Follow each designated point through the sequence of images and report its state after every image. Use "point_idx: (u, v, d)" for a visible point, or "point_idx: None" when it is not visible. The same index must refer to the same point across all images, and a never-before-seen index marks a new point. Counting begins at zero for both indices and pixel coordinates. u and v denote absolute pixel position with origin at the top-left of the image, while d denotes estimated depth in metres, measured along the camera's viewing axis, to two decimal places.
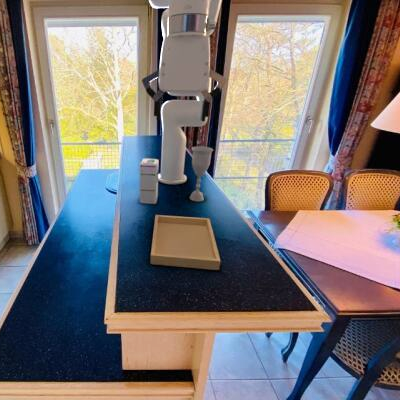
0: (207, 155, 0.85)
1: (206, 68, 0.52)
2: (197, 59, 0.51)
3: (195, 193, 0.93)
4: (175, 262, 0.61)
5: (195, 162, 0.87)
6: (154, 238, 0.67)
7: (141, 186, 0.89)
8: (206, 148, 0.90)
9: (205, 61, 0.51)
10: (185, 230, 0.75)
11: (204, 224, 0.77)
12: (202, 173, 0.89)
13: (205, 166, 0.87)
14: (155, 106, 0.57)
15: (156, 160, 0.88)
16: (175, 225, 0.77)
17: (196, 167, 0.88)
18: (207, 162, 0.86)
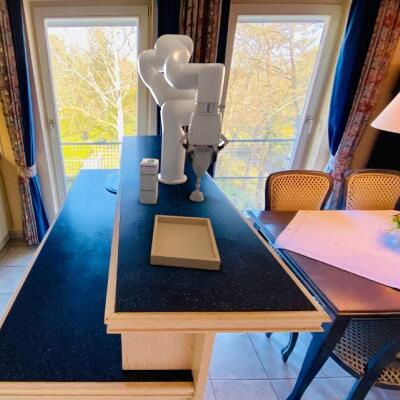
0: (207, 155, 0.85)
1: (219, 132, 0.82)
2: (213, 126, 0.82)
3: (195, 193, 0.93)
4: (175, 262, 0.61)
5: (195, 162, 0.87)
6: (154, 238, 0.67)
7: (141, 186, 0.89)
8: (206, 148, 0.90)
9: (218, 128, 0.82)
10: (185, 230, 0.75)
11: (204, 224, 0.77)
12: (202, 173, 0.89)
13: (205, 166, 0.87)
14: (188, 155, 0.88)
15: (156, 160, 0.88)
16: (175, 225, 0.77)
17: (196, 167, 0.88)
18: (207, 162, 0.86)
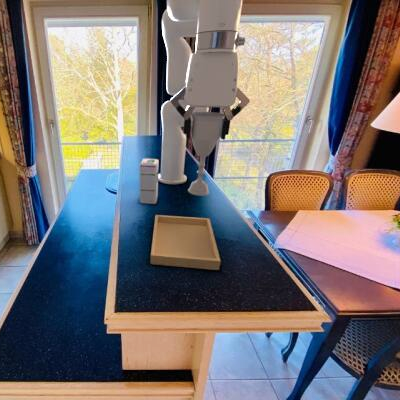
0: (215, 123, 0.55)
1: (234, 84, 0.51)
2: (225, 75, 0.51)
3: (196, 183, 0.62)
4: (175, 262, 0.61)
5: (197, 135, 0.57)
6: (154, 238, 0.67)
7: (141, 186, 0.89)
8: (213, 115, 0.59)
9: (234, 77, 0.51)
10: (185, 230, 0.75)
11: (204, 224, 0.77)
12: (207, 152, 0.58)
13: (212, 140, 0.56)
14: (185, 124, 0.57)
15: (156, 160, 0.88)
16: (175, 225, 0.77)
17: (198, 142, 0.57)
18: (215, 134, 0.56)
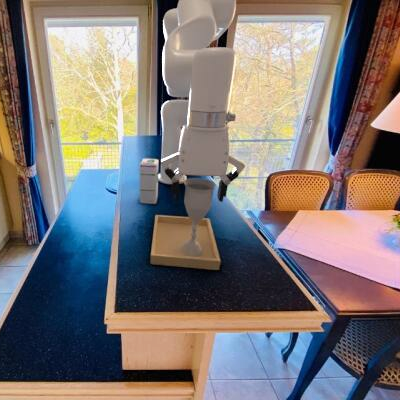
0: (207, 194, 0.56)
1: (225, 157, 0.53)
2: (216, 149, 0.52)
3: (189, 245, 0.64)
4: (175, 262, 0.61)
5: (189, 203, 0.58)
6: (154, 238, 0.67)
7: (141, 186, 0.89)
8: (206, 182, 0.60)
9: (225, 151, 0.52)
10: (185, 230, 0.75)
11: (204, 224, 0.77)
12: (199, 218, 0.60)
13: (204, 210, 0.58)
14: (173, 186, 0.58)
15: (156, 160, 0.88)
16: (175, 225, 0.77)
17: (191, 210, 0.59)
18: (207, 204, 0.57)
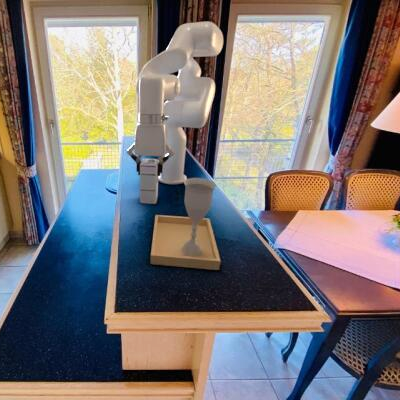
0: (207, 194, 0.56)
1: (163, 143, 0.82)
2: (157, 138, 0.82)
3: (189, 245, 0.64)
4: (175, 262, 0.61)
5: (189, 203, 0.58)
6: (154, 238, 0.67)
7: (141, 186, 0.89)
8: (206, 182, 0.60)
9: (162, 139, 0.82)
10: (185, 230, 0.75)
11: (204, 224, 0.77)
12: (199, 218, 0.60)
13: (204, 210, 0.58)
14: (137, 166, 0.88)
15: (156, 160, 0.88)
16: (175, 225, 0.77)
17: (191, 210, 0.59)
18: (207, 204, 0.57)
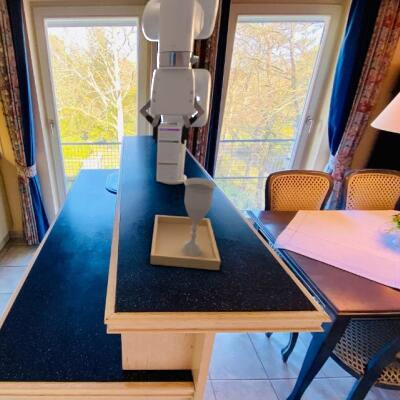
0: (207, 194, 0.56)
1: (191, 96, 0.60)
2: (183, 88, 0.59)
3: (189, 245, 0.64)
4: (175, 262, 0.61)
5: (189, 203, 0.58)
6: (154, 238, 0.67)
7: (159, 158, 0.66)
8: (206, 182, 0.60)
9: (190, 90, 0.59)
10: (185, 230, 0.75)
11: (204, 224, 0.77)
12: (199, 218, 0.60)
13: (204, 210, 0.58)
14: (154, 131, 0.65)
15: (179, 123, 0.66)
16: (175, 225, 0.77)
17: (191, 210, 0.59)
18: (207, 204, 0.57)
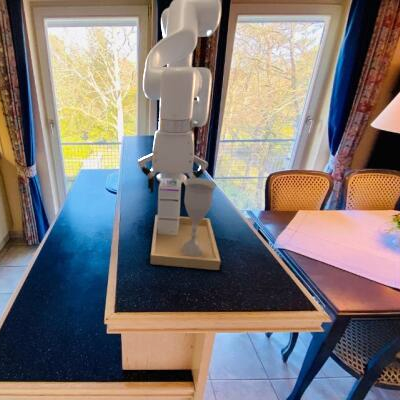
0: (207, 194, 0.56)
1: (190, 157, 0.63)
2: (183, 150, 0.62)
3: (189, 245, 0.64)
4: (175, 262, 0.61)
5: (189, 203, 0.58)
6: (154, 238, 0.67)
7: (159, 214, 0.70)
8: (206, 182, 0.60)
9: (190, 152, 0.62)
10: (185, 230, 0.75)
11: (204, 224, 0.77)
12: (199, 218, 0.60)
13: (204, 210, 0.58)
14: (149, 181, 0.69)
15: (179, 181, 0.69)
16: None
17: (191, 210, 0.59)
18: (207, 204, 0.57)
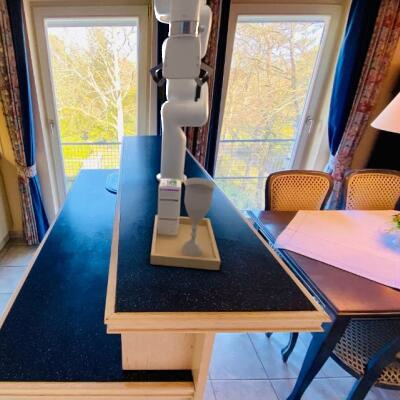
0: (207, 194, 0.56)
1: (198, 61, 0.70)
2: (191, 54, 0.69)
3: (189, 245, 0.64)
4: (175, 262, 0.61)
5: (189, 203, 0.58)
6: (154, 238, 0.67)
7: (159, 214, 0.70)
8: (206, 182, 0.60)
9: (197, 55, 0.69)
10: (185, 230, 0.75)
11: (204, 224, 0.77)
12: (199, 218, 0.60)
13: (204, 210, 0.58)
14: (159, 90, 0.75)
15: (179, 181, 0.69)
16: None
17: (191, 210, 0.59)
18: (207, 204, 0.57)
